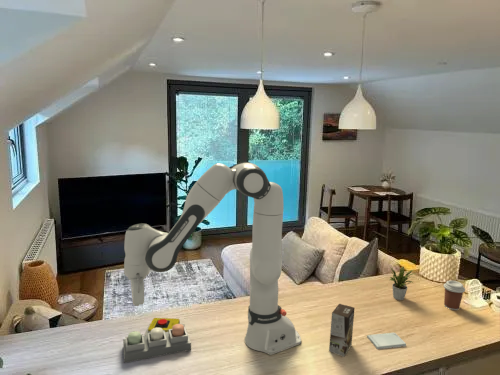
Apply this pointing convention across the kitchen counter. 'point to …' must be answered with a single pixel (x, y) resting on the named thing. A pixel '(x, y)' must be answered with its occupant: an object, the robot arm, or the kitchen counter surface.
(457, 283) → the coffee cup
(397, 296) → the house plant
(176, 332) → the brown egg
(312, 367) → the kitchen counter surface
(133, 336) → the pale green egg
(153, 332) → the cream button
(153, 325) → the emergency button
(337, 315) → the coffee box
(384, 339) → the hard drive
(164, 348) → the panel
